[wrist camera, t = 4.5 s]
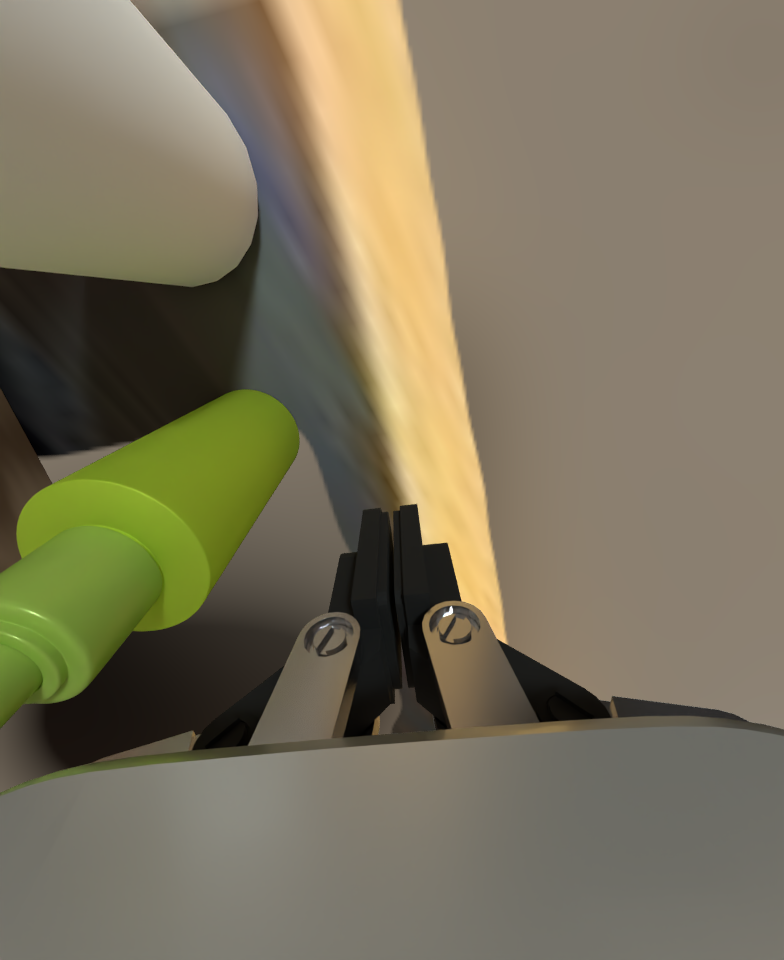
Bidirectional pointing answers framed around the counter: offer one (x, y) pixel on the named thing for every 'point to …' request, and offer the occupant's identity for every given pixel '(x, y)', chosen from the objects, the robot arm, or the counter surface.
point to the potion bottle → (114, 151)
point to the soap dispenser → (134, 542)
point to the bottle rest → (15, 481)
